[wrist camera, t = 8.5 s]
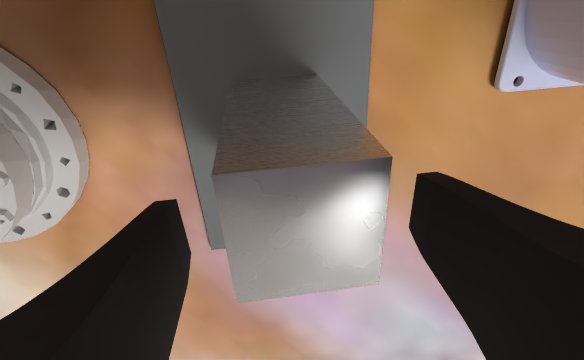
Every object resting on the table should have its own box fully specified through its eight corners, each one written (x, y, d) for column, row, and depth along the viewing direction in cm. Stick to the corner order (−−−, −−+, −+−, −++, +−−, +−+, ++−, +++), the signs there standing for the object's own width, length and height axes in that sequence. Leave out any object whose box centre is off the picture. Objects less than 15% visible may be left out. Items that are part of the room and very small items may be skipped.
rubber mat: (374, -44, 13) (376, -45, 13) (358, 228, 20) (359, 231, 20) (148, -31, 13) (146, -32, 12) (211, 246, 20) (211, 249, 19)
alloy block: (317, 74, 15) (392, 156, 7) (318, 152, 17) (378, 284, 9) (230, 81, 15) (211, 175, 7) (241, 160, 17) (236, 303, 9)
